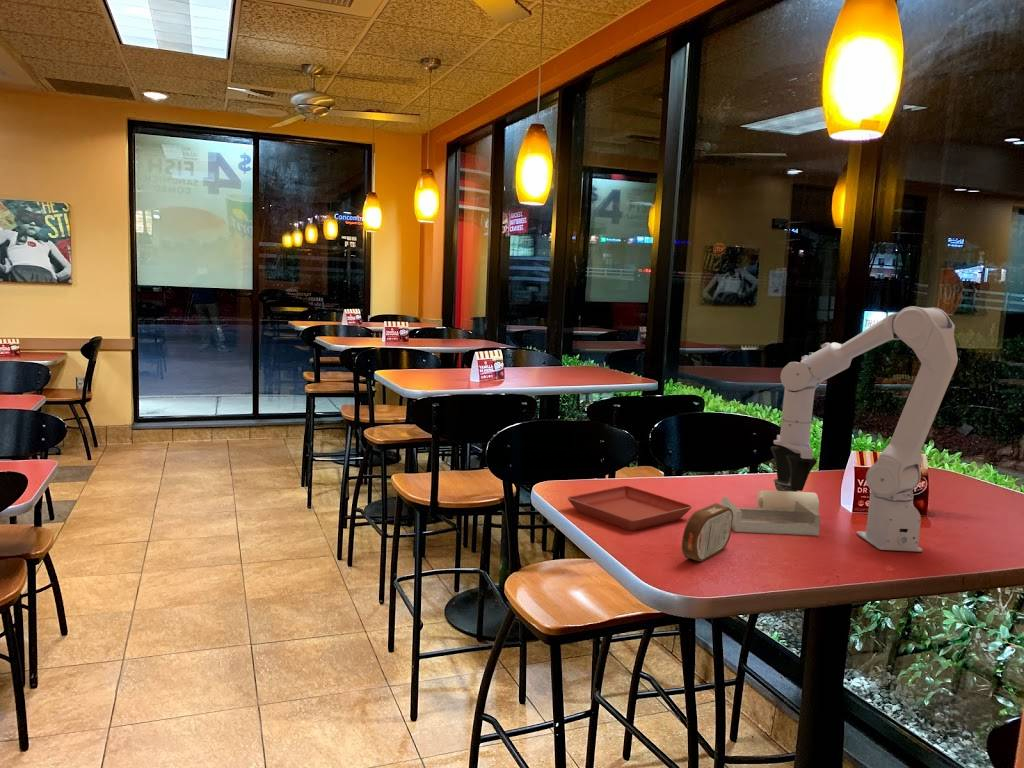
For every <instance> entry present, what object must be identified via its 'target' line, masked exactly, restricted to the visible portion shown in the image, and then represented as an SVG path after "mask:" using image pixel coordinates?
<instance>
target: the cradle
mask: <svg viewBox="0 0 1024 768" xmlns="http://www.w3.org/2000/svg"><path fill="white" fill-rule="evenodd" d="M720 505H722V506H726V507H728V508H730V509H731V510H732V512H733V521H732V528H731V530H733V532H734V533H749V534H750V533H752V534H753V533H755V534H770V535H771V534H774V535H777V534H778V535H797V536H799V535H800V536H814V537H815V536H819V535H820V526H821V514H820V513H819V512H818V513H817V512H815V511H814V510H813V509H811V508H810V507H808V506H807V505H806V504H804V503H803V502H801V501H795V510H779V509H758V507H757V508H755V507H738V506H736V504H735V503H733V502H732V501H731V500H730V498H728V497H723V496H722V497H721V504H720ZM819 537H820V536H819Z"/></svg>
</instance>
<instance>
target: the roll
mask: <svg viewBox="0 0 1024 768" xmlns="http://www.w3.org/2000/svg"><path fill="white" fill-rule="evenodd" d="M795 501H801V502H803V503H804V504H806V505H807V506H808V507H810V508H811V509H813V510H814V511H815V512H817V513H818V514H819V510H820V500H819V496H818V494H817V493H816V492H812V491H811V492H810V491H809V492H808V491H797V492H791V491H778V490H768V489H767V490H765V489H761V490H759V492H758V494H757V501H756V502H757V508H758V509H779V510H795Z"/></svg>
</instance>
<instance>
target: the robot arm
mask: <svg viewBox="0 0 1024 768" xmlns="http://www.w3.org/2000/svg"><path fill="white" fill-rule="evenodd" d="M955 328H956V325H955V323H953V321H952V320H951V318H950V317H949V316H948V314H947V313H946V312H945V311H944V310H942V309H941V308H938V307H933V306H932V307H919V306H913V305H912V306H911V305H910V306H907V307H904V308H902V309H901V310H899V312H894V313H891V314H890V315H887V316H886V317H884V318H883V319H881V320H880V321H878V322H876V323H875V324H873V325H872V326H869V328H867V329H865V330H864V331H862V332H860V333H858V334H857V335H855V336H854V337H852V338H850V339H848V340H847V341H845V342H844V343H839V342H835V341H834V342H825V343H823V344H820V347H821V348H820V349H819V350H817V351H815V352H814V353H811V354H810V355H806V354H805V355H802V356H801V360H800V362H798V361H790V362H788V363H787V364H786V365H785V366H784V367H783V368H782V370H781V372H780V381H781V384H782V386H783V388H784V393H783V402H782V413H781V424H780V433H779V434H777V435H776V439H774V440H773V444H774V445H775V446H774V445H773V446H770V451H771V453H772V456H773V459H774V462H775V468H776V469H775V470H776V475H777V478H776V479H778V480H779V481H789V479H790V485H791V490H793V491H797V492H803V490H804V488H805V485H806V483H807V479H808V477H809V475H810V473H811V471H812V470H813V468H814V467H815V465H816V464H817V463H818V459H817V458H815V457H813V453H814V449H813V448H812V447H811V443H810V438H811V437H810V436H811V428H812V416H813V408H814V399H815V393H816V392H815V391H816V389H817V388H818V387H819V386H820V385H821V383H822V382H823V381H826V380H828V379H829V378H832V377H834V376H836V375H837V374H839V373H842V372H843V371H845V370H847V369H849V368H850V366H851V362H852V360H853V359H854V358H856V357H858V356H860V355H862V354H865V353H866V352H868V351H870V350H872V349H875V348H876V347H878V346H880V345H883V344H885V343H887V342H889V341H892V340H894V341H896V340H901V341H902V342H903V343H905V344H906V345H907V346H908V347H909V348H910V349H912V350H913V352H914V354H915V355H916V357H917V358H918V360H919V362H920V366H919V369H918V372H917V375H916V377H915V379H914V382H913V384H912V387H911V390H910V392H909V395H908V396H907V399H906V402H905V404H904V406H903V409H902V412H901V414H900V417H899V419H898V422H897V424H896V427H895V429H894V432H893V434H892V437H891V439H890V441H889V443H888V445H886V447H885V448H884V449H883V450H882V452H880V454H879V456H878V458H877V460H876V462H875V463H873V464H872V465H871V466H869V468H868V469H867V471H866V474H865V482H866V485H867V487H868V488H869V490H870V493H869V500H868V502H869V503H868V512H867V519H866V520H867V521H866V527H865V528H866V529H865V531H860V530H859V531H856V535H858V536H859V537H861V538H862V539H864V540H865V541H866V542H868V543H869V544H870V545H872V546H874V547H875V548H876V549H878V550H881V551H900V552H919V553H920V552H923V548H922V547H920V546H919V541H920V533H921V532H920V531H921V523H922V517H921V514H920V511H919V510H918V509H917V507H915V505H914V491H913V490H914V489H915V488H916V487H918V485H919V484H920V482H921V478H922V474H921V465H922V462H923V460H924V457H923V455H922V452H921V451H922V449H923V446H924V444H925V442H926V440H927V437H928V434H929V433H930V429H931V427H932V424H933V423H934V420H935V418H936V415H937V414H938V411H939V408H940V406H941V403H942V401H943V398H944V396H945V394H946V392H947V389H948V386H949V385H950V382H951V380H952V378H953V375H954V373H955V370H956V367H957V365H958V361H959V357H958V351H957V345H956V340H955V335H954V333H955Z"/></svg>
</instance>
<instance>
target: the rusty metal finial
mask: <svg viewBox="0 0 1024 768" xmlns="http://www.w3.org/2000/svg"><path fill="white" fill-rule="evenodd" d="M773 482H774V487H775V489H776V491H791V492H798V491H793V490H791V485H790V479H789V481H779V480H778V478H775V479H773Z"/></svg>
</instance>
